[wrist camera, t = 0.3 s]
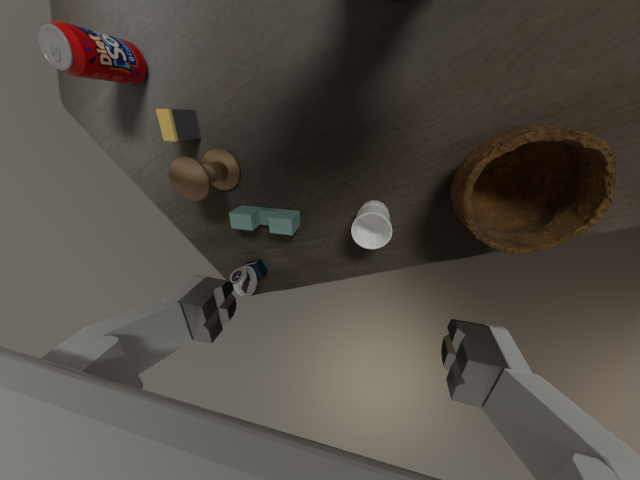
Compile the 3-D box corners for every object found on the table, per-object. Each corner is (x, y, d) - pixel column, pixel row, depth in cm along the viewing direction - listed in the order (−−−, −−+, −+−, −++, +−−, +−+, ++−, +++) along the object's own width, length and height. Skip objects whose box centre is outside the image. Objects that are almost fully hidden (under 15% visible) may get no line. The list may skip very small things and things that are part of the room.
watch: (258, 253, 69) (238, 275, 60) (270, 276, 72) (252, 300, 62) (243, 257, 71) (221, 278, 62) (255, 279, 74) (235, 303, 64)
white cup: (364, 233, 59) (360, 254, 50) (351, 205, 56) (344, 221, 48) (396, 222, 55) (398, 242, 47) (383, 192, 53) (383, 206, 44)
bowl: (492, 101, 42) (540, 94, 29) (583, 157, 42) (670, 174, 29) (421, 192, 51) (433, 217, 38) (495, 237, 52) (532, 277, 39)
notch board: (241, 205, 63) (228, 213, 58) (299, 210, 60) (291, 219, 55) (243, 219, 65) (231, 228, 60) (300, 225, 62) (292, 235, 57)
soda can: (119, 75, 56) (38, 63, 43) (118, 35, 52) (28, 7, 39) (149, 90, 56) (77, 82, 43) (150, 51, 52) (71, 29, 39)
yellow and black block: (184, 110, 56) (155, 108, 49) (195, 110, 55) (167, 109, 48) (190, 138, 58) (163, 140, 52) (201, 138, 58) (175, 141, 51)
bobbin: (200, 147, 59) (161, 153, 48) (237, 148, 57) (204, 155, 46) (209, 187, 63) (174, 201, 53) (243, 190, 61) (214, 205, 51)
